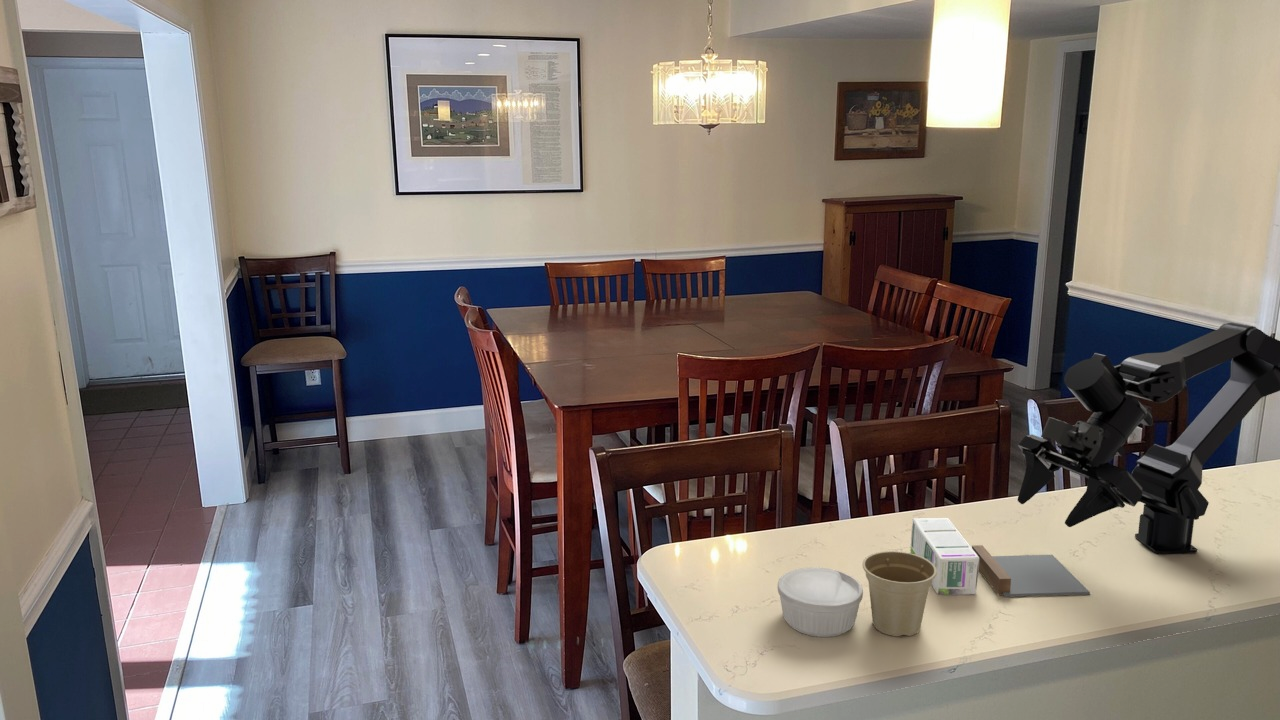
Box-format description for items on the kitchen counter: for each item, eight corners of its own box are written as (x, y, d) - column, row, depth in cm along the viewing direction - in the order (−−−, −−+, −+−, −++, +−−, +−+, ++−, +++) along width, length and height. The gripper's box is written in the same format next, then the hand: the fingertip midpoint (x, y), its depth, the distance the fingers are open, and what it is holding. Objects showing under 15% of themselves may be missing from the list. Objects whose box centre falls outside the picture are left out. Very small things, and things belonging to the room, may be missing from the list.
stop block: (981, 560, 140) (982, 545, 139) (1009, 594, 129) (1011, 578, 128) (971, 560, 140) (971, 545, 139) (998, 595, 129) (999, 578, 128)
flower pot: (935, 613, 125) (937, 555, 123) (932, 649, 116) (935, 587, 114) (864, 604, 128) (866, 547, 126) (857, 638, 119) (859, 577, 117)
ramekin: (877, 634, 120) (878, 597, 119) (800, 649, 117) (800, 611, 116) (836, 595, 131) (837, 561, 129) (764, 608, 128) (764, 573, 126)
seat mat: (1052, 556, 140) (1052, 554, 140) (1089, 594, 128) (1089, 591, 128) (973, 559, 140) (974, 556, 140) (1004, 596, 129) (1004, 594, 128)
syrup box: (911, 517, 142) (938, 558, 128) (949, 516, 142) (980, 558, 128) (909, 551, 144) (935, 595, 129) (947, 550, 143) (978, 595, 129)
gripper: (1031, 383, 139) (968, 463, 138) (1133, 415, 122) (1063, 506, 121) (1068, 425, 143) (1008, 502, 142) (1172, 461, 126) (1104, 550, 125)
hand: (1042, 513), depth 133 cm, fingers open, 9 cm apart
